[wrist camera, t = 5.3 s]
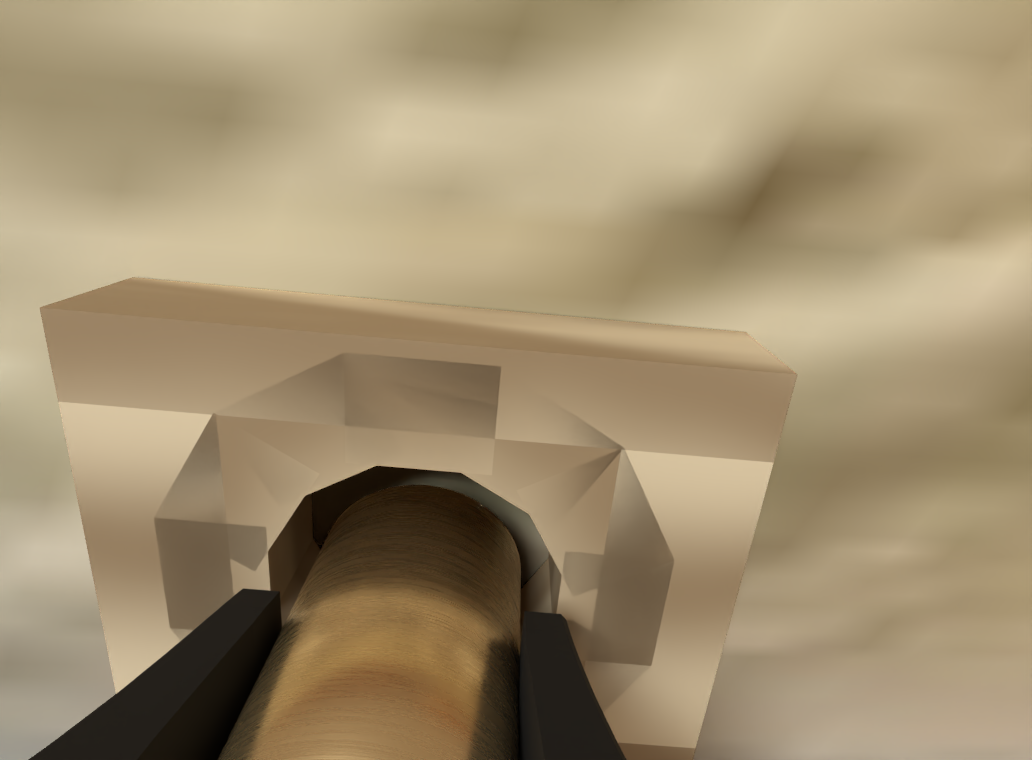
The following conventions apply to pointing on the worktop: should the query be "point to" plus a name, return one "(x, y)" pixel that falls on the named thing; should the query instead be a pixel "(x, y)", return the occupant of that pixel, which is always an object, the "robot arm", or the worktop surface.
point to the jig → (421, 463)
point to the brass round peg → (396, 640)
